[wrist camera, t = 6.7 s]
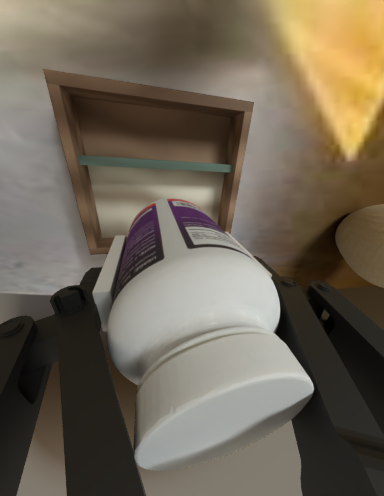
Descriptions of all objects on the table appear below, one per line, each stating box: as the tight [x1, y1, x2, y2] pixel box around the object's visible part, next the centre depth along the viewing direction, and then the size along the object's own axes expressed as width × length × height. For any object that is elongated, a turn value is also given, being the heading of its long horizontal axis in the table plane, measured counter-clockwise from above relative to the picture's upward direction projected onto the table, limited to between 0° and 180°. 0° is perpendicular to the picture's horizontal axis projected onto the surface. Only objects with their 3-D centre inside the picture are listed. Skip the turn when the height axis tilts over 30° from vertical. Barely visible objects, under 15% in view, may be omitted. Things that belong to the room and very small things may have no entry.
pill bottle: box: [107, 198, 314, 471], centre depth 11 cm, size 8×8×14 cm
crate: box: [43, 69, 254, 255], centre depth 25 cm, size 20×22×4 cm
